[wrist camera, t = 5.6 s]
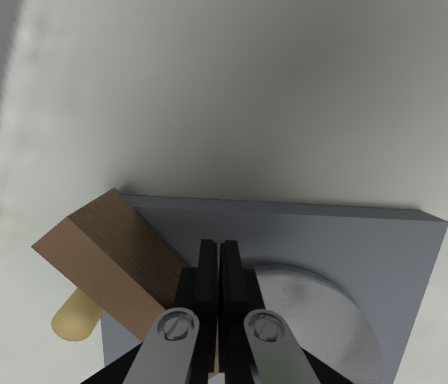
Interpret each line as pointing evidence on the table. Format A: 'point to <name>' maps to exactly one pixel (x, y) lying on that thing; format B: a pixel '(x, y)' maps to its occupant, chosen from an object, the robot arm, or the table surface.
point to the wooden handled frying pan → (172, 264)
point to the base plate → (293, 259)
